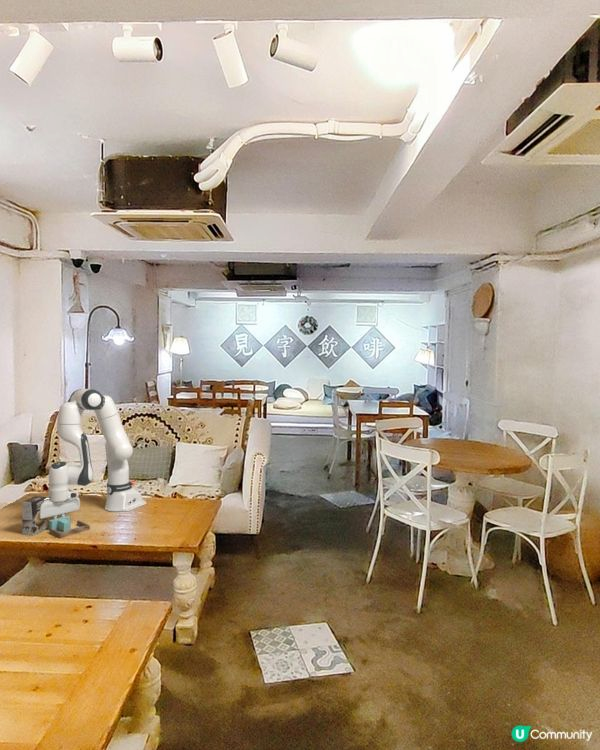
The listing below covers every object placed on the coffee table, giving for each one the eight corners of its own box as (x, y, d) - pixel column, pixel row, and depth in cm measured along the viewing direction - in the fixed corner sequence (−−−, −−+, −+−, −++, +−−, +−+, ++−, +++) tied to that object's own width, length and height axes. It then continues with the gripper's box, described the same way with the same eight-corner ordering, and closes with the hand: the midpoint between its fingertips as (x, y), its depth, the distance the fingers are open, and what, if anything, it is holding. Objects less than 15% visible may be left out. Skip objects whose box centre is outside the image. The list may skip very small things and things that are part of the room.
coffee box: (33, 535, 237) (33, 502, 236) (21, 534, 238) (21, 501, 237) (47, 528, 246) (47, 496, 245) (35, 527, 247) (35, 495, 246)
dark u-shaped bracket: (79, 524, 252) (79, 520, 252) (89, 529, 247) (89, 525, 246) (49, 533, 240) (49, 529, 240) (59, 538, 235) (59, 534, 234)
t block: (67, 524, 252) (67, 515, 252) (76, 529, 246) (76, 520, 246) (49, 529, 245) (49, 520, 245) (57, 534, 239) (57, 524, 239)
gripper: (39, 501, 239) (39, 530, 239) (81, 492, 254) (81, 519, 255) (33, 498, 243) (34, 526, 243) (75, 489, 258) (75, 516, 259)
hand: (58, 522), depth 249 cm, fingers closed
